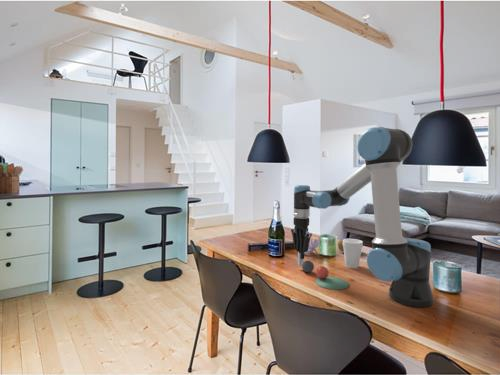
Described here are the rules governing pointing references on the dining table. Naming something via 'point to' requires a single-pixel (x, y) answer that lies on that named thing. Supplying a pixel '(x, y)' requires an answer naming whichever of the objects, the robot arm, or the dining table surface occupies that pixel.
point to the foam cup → (352, 252)
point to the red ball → (322, 272)
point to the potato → (340, 245)
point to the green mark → (332, 283)
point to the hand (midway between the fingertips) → (300, 264)
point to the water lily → (313, 246)
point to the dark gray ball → (308, 266)
